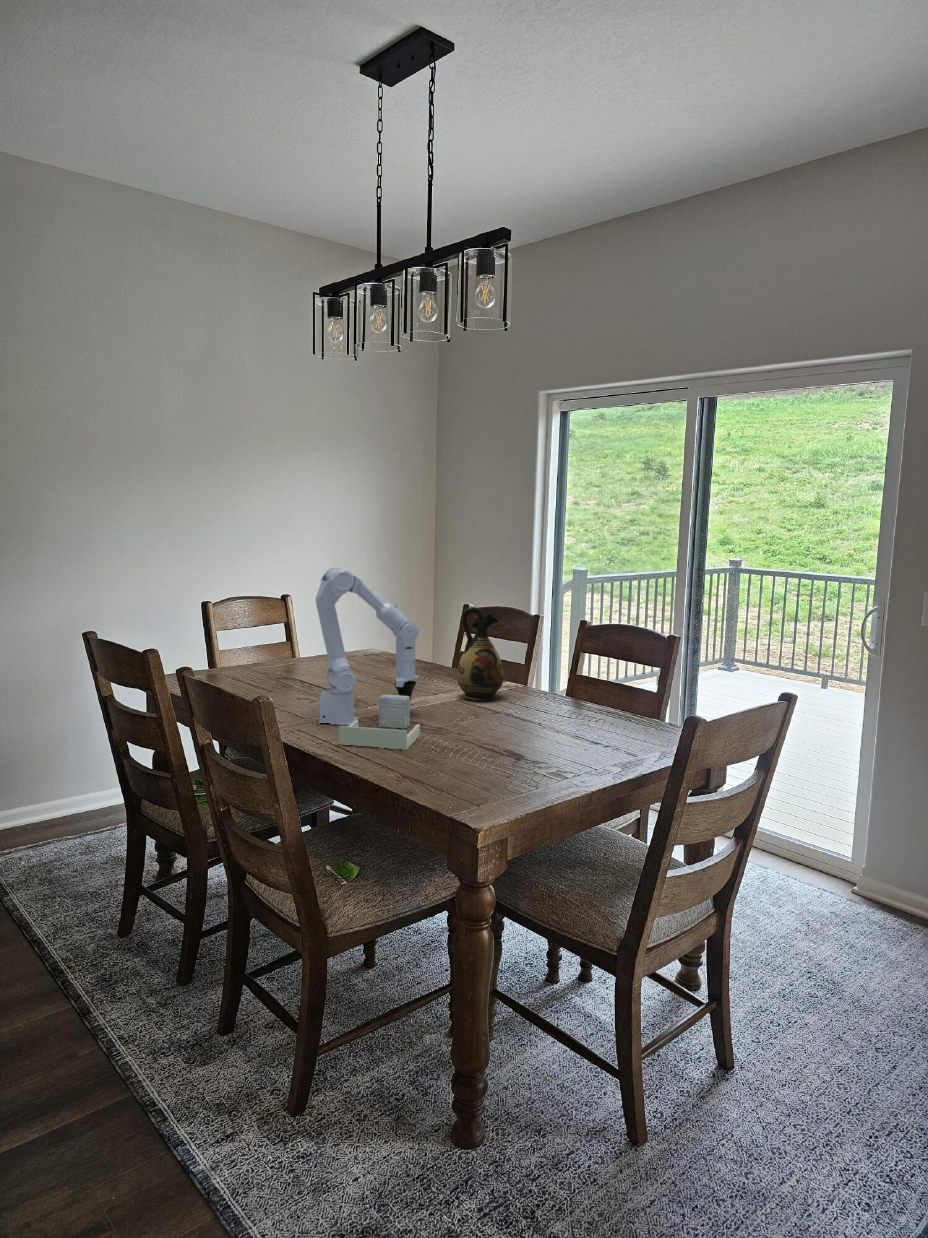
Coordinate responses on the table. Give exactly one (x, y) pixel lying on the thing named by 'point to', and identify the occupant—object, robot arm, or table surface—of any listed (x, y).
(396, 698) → the medicine box
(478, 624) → the ceramic jug
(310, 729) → the table surface
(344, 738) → the box
